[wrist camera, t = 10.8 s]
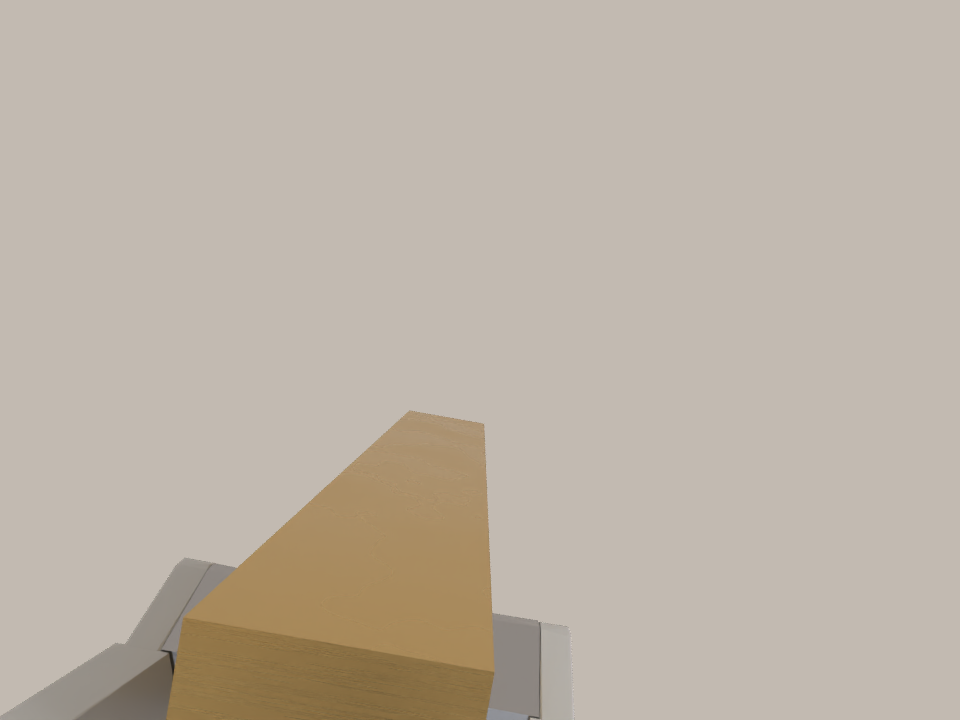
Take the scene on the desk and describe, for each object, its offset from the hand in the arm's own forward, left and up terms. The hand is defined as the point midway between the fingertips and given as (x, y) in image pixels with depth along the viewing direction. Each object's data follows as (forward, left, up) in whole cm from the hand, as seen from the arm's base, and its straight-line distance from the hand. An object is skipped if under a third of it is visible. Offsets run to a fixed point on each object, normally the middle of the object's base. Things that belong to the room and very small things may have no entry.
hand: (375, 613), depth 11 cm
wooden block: (0, -7, -2) cm, 8 cm away
